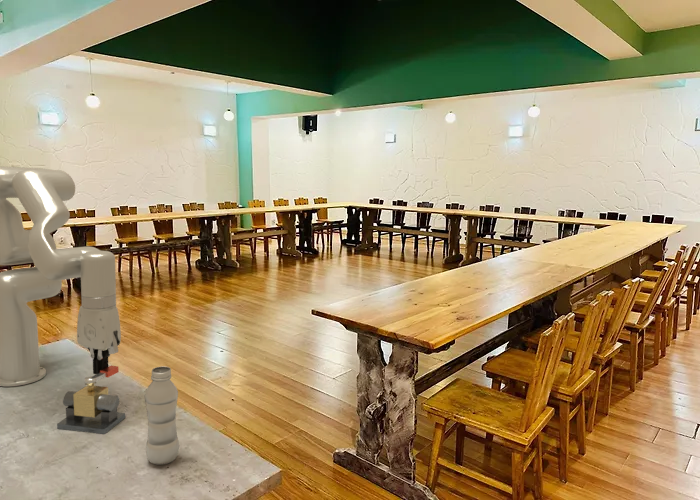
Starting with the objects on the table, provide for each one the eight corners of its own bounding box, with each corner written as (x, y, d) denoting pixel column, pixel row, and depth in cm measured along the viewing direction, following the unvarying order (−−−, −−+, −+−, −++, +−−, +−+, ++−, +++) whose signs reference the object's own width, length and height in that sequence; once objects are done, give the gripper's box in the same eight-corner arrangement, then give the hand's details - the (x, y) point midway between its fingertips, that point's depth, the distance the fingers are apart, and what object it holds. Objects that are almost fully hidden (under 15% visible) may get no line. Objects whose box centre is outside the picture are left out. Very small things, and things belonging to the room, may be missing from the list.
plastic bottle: (168, 471, 98) (167, 377, 96) (138, 466, 100) (136, 373, 97) (185, 454, 105) (184, 365, 102) (157, 449, 106) (155, 362, 103)
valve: (57, 428, 113) (55, 388, 112) (80, 412, 121) (79, 375, 119) (104, 434, 111) (103, 393, 110) (125, 417, 119) (124, 379, 118)
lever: (91, 386, 113) (90, 380, 113) (82, 384, 114) (82, 378, 114) (118, 372, 122) (118, 366, 122) (110, 370, 122) (110, 365, 122)
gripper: (63, 300, 118) (65, 372, 121) (109, 309, 113) (110, 384, 115) (89, 294, 125) (91, 362, 127) (134, 302, 119) (135, 373, 122)
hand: (100, 372), depth 121 cm, fingers closed
